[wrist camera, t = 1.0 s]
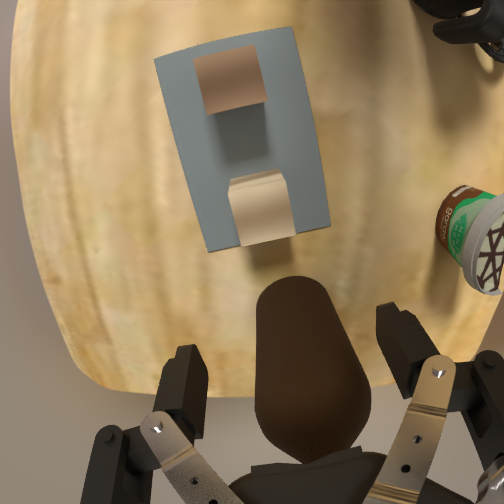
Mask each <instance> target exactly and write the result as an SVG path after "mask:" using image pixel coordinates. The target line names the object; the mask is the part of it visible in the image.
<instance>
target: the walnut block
mask: <svg viewBox="0 0 504 504" xmlns="http://www.w3.org/2000/svg"><path fill="white" fill-rule="evenodd" d="M193 63H194V67H195V70H196V74H197V78H198V82H199V86H200V90H201V94H202V98H203V102H204V106H205V110H206V114H207V115H210V114H214V113H218V112H222V111H226V110H230V109H234V108H239V107H243V106H248V105H252V104H257V103H262V102H267V101H268V99H267V94H266V90H265V86H264V82H263V78H262V73H261V69H260V65H259V61H258V57H257V53H256V49H255V45H249V46H244V47H239V48H235V49H230V50H226V51H221V52H217V53H213V54H209V55H206V56H202V57H198V58H195V59H193Z"/></svg>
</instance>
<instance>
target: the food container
mask: <svg viewBox="0 0 504 504" xmlns="http://www.w3.org/2000/svg"><path fill="white" fill-rule="evenodd" d="M436 234H437V237H438V240H439V241H440V243H441V244H442V245H443V246H444V248H445V249H446V250H447V251H448V252H449V253H450V254H451V255H452V257H453V258H454V259H455V260H456V261H457V262H458V263H459V265H460V266H461V267H462V268H463V273H464V277H465V279H466V281H467V283H468V284H469V285H470V286H471V287H473V288H474V289H476V290H478V291H479V292H481V293H483V294H488V295H493V296H494V295H499V294H502V292H501V291H500V289H499V288H498V287H499V282H500V275H501V271H502V267H503V264H504V193H503V194H500V195H498V196H496V195H493V194H490V193H487V192H484V191H482V190H479V189H476V188H473V187H470V186H466V185H463V186H460V187H457V188H456V189H455V190H453V191H452V192H450V193H449V195H448V196H447V197H446V198H445V199H444V201H443V202H442V204H441V206H440V209H439V211H438V214H437V218H436Z"/></svg>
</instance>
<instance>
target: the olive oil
mask: <svg viewBox="0 0 504 504" xmlns="http://www.w3.org/2000/svg"><path fill="white" fill-rule="evenodd" d="M370 410H371V389H370V385H369V381H368V379H367V376H366V374H365V372H364V370H363V368H362V366H361V364H360V362H359V359H358V357H357V355H356V353H355V351H354V349H353V347H352V345H351V343H350V340H349V338H348V336H347V334H346V332H345V330H344V328H343V326H342V323H341V321H340V319H339V317H338V315H337V313H336V310H335V308H334V306H333V304H332V302H331V299H330V297H329V295H328V293H327V291H326V290H325V288H324V287H323V286H322V285H321V284H320V283H318V282H317V281H315V280H313V279H311V278H307V277H302V276H292V277H286V278H283V279H280V280H278V281H276V282H274V283H272V284H271V285H269V286H268V287H267V288H266V289H265V290H264V291H263V292H262V294H261V295H260V297H259V299H258V302H257V306H256V379H255V412H256V417H257V420H258V423H259V425H260V428H261V429H262V432H263V434H264V435H265V437H266V438H267V439H268V440H269V441H270V442H271V443H272V444H274V446H276V447H277V448H279V449H280V450H282V451H283V452H285V453H287V454H288V455H290V456H291V457H293V458H295V459H296V460H298V461H299V462H301V463H302V464H309V463H311V462H313V461H316V460H318V459H320V458H323V457H325V456H327V455H329V454H331V453H334V452H337V451H341V450H345V449H349V448H350V447H351V446H352V444H353V443H354V442H355V440H356V439H357V437H358V436H359V434H360V433H361V431H362V430H363V428H364V427H365V425H366V423H367V421H368V418H369V415H370Z"/></svg>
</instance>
